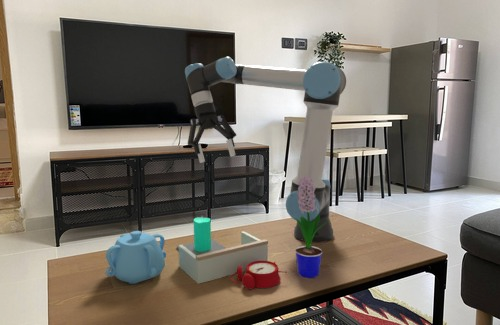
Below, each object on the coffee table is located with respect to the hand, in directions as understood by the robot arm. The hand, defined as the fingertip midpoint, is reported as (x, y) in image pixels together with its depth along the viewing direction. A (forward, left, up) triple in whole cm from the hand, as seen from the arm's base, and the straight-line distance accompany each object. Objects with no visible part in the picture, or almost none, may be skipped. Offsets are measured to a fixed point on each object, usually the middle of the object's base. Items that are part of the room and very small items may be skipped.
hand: (218, 159), depth 141 cm
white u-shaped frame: (+11, +23, -31) cm, 40 cm away
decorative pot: (+36, +15, -31) cm, 50 cm away
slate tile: (+11, +8, -31) cm, 34 cm away
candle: (+11, +8, -30) cm, 33 cm away
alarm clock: (+8, +38, -31) cm, 50 cm away
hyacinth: (-8, +43, -31) cm, 54 cm away
